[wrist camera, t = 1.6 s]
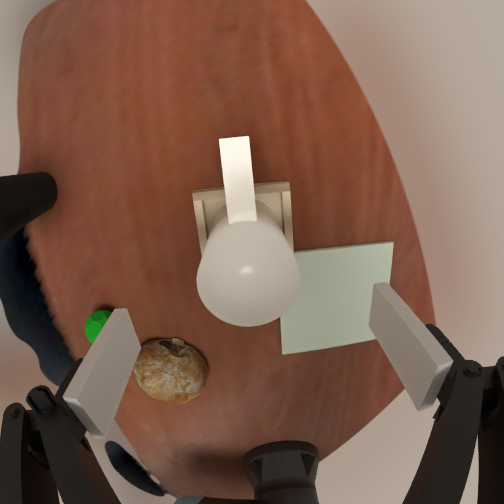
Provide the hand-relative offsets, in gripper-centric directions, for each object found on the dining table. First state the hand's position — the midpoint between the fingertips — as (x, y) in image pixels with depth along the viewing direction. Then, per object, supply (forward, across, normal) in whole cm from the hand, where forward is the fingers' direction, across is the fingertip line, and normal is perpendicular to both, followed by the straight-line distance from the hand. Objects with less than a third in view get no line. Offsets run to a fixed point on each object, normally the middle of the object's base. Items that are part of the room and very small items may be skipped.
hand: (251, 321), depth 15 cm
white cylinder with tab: (+17, 0, -3) cm, 17 cm away
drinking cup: (+17, +24, -8) cm, 31 cm away
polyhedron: (+17, +19, +10) cm, 28 cm away
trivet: (+17, -10, +10) cm, 22 cm away
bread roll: (+17, +12, +18) cm, 28 cm away
